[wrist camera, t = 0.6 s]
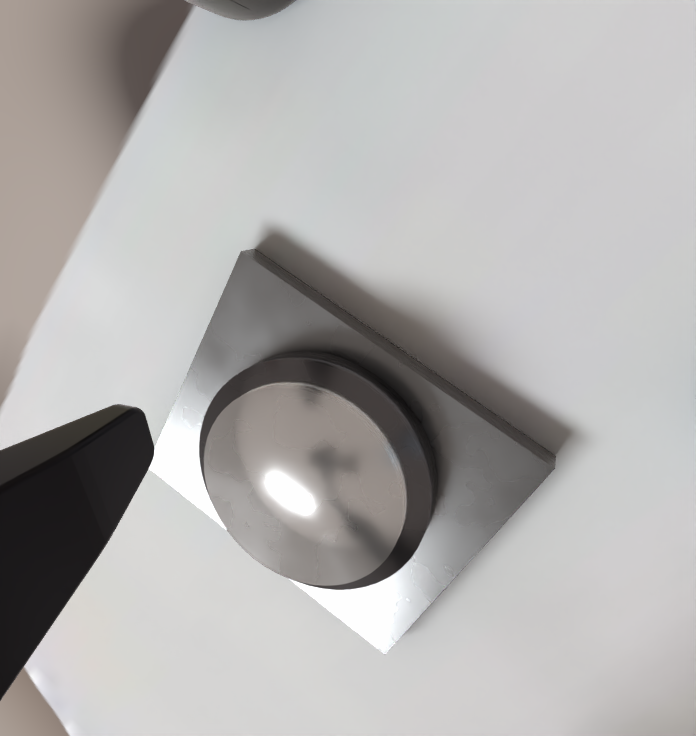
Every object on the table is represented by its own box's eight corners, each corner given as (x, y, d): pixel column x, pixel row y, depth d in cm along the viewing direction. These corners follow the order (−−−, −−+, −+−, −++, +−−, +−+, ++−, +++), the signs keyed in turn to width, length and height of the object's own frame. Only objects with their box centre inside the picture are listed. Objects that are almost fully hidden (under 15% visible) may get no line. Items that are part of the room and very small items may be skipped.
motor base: (555, 456, 20) (552, 497, 18) (391, 638, 26) (370, 690, 23) (254, 248, 22) (210, 257, 20) (160, 457, 28) (116, 486, 25)
